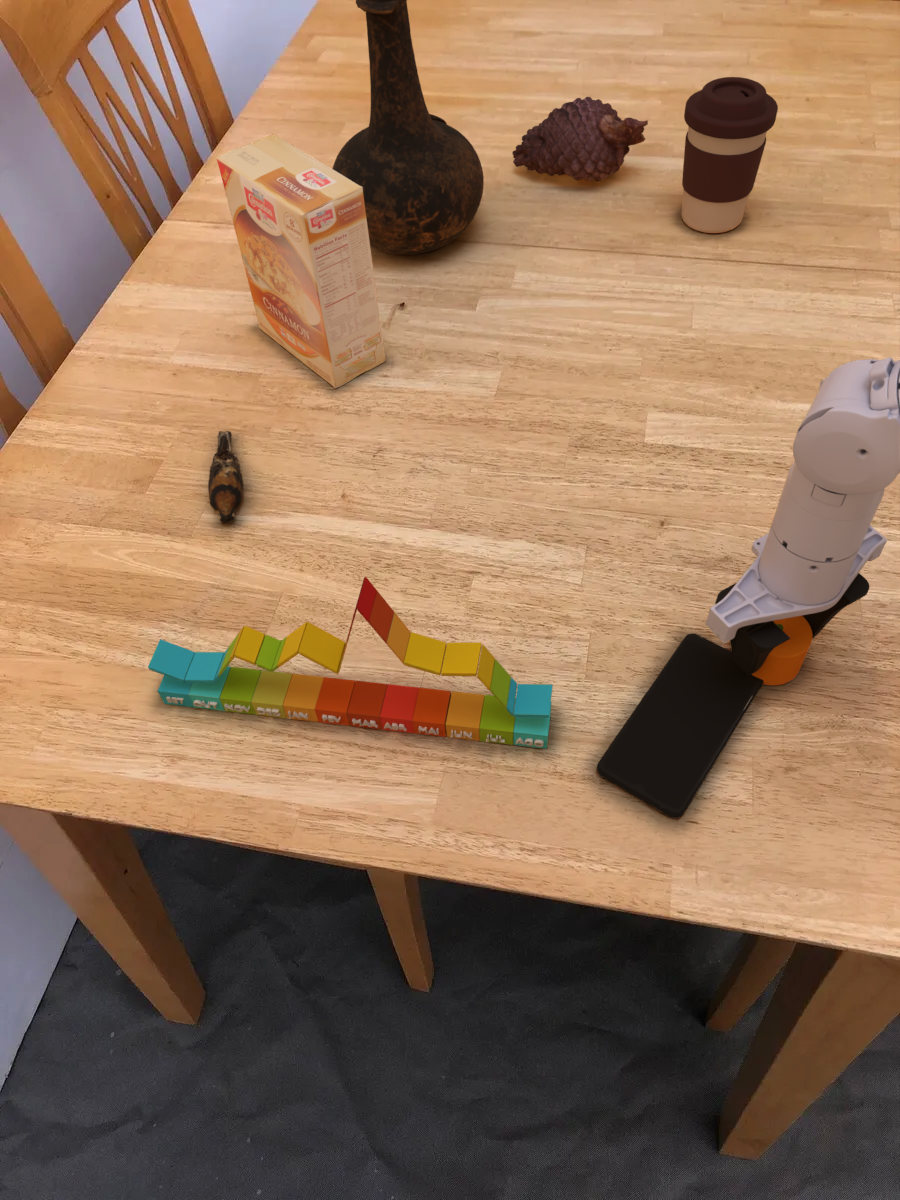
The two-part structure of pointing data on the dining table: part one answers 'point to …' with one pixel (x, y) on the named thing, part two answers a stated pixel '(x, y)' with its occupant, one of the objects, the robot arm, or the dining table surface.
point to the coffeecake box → (305, 256)
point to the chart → (359, 683)
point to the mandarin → (787, 652)
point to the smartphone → (680, 726)
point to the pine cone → (579, 141)
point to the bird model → (225, 480)
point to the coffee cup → (723, 151)
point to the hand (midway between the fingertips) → (771, 648)
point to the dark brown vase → (407, 149)
